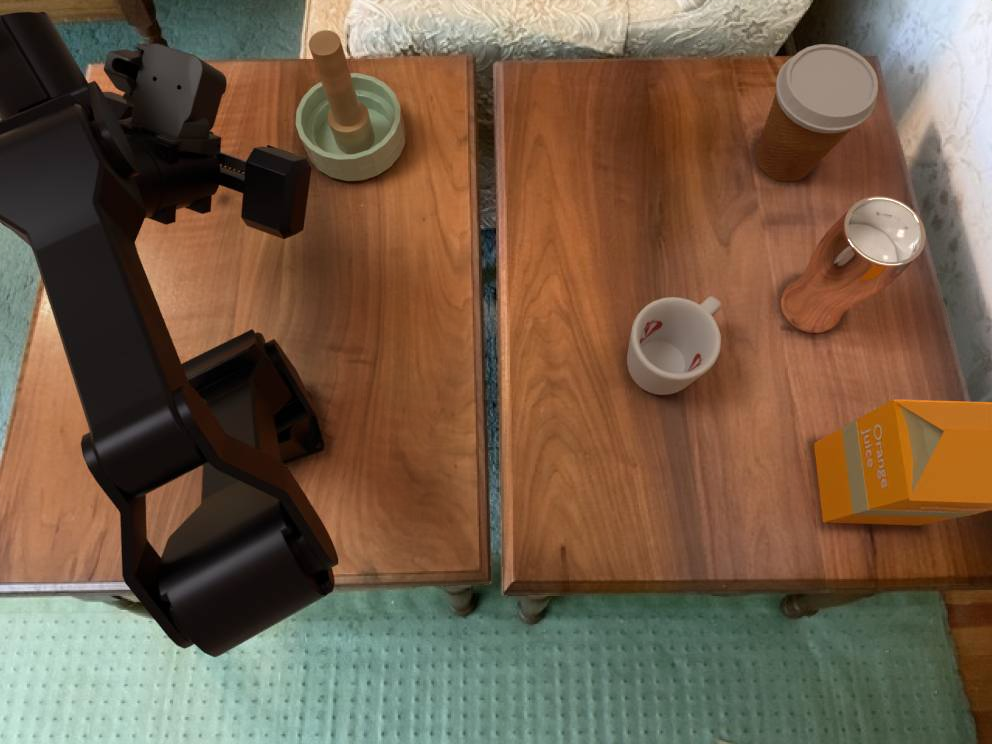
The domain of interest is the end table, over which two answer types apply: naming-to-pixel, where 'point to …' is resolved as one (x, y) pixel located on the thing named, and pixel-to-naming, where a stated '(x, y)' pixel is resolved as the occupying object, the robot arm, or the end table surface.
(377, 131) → the bowl
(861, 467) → the orange juice
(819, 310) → the beer glass
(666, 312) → the cup
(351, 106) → the rod
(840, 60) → the disposable coffee cup
